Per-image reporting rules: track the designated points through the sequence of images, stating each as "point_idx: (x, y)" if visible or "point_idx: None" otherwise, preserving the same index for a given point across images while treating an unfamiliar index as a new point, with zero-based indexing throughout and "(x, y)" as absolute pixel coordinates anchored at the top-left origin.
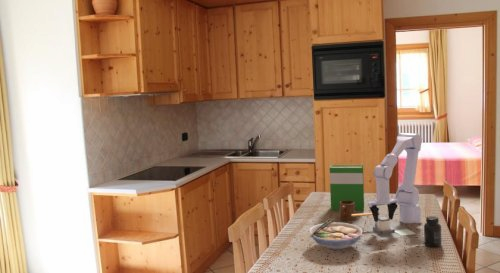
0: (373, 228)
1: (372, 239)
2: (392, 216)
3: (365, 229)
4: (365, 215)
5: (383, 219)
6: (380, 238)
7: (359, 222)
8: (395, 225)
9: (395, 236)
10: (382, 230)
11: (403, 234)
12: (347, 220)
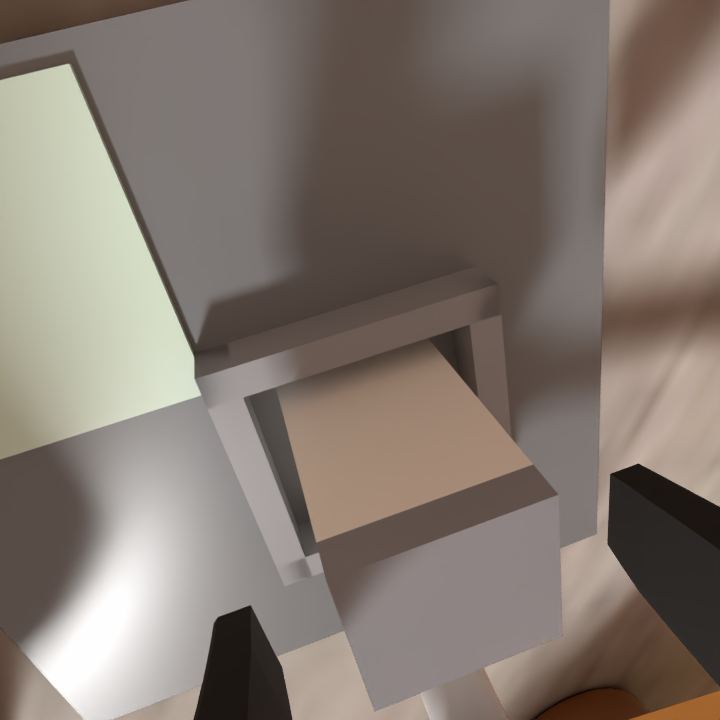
0: None
1: (669, 91)
2: (223, 692)
3: (587, 475)
4: (708, 694)
5: (503, 530)
6: (597, 1)
7: (500, 696)
8: (104, 637)
9: (246, 70)
10: (434, 358)
11: (18, 152)
12: (616, 703)
